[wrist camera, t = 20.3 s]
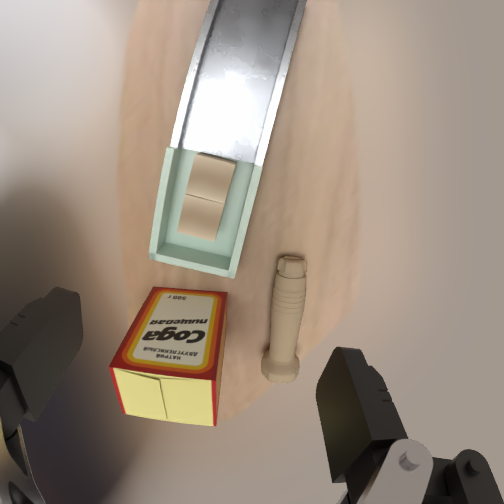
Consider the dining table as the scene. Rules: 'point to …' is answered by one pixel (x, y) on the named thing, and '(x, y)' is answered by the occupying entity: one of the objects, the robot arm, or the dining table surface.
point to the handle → (285, 320)
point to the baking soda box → (173, 357)
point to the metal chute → (237, 78)
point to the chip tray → (231, 226)
